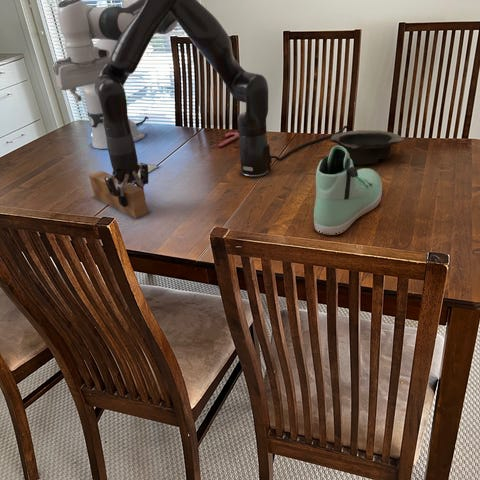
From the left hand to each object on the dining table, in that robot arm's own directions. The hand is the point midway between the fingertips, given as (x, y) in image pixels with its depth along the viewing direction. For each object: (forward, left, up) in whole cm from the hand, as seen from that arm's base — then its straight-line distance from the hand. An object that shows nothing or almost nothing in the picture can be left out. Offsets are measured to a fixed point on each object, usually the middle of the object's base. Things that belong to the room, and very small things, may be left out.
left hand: (91, 97), depth 163 cm
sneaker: (-27, +86, -27) cm, 94 cm away
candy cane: (-47, +15, -27) cm, 56 cm away
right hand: (+13, +36, -23) cm, 45 cm away
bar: (+13, +28, -27) cm, 41 cm away
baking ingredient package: (-5, +11, -27) cm, 29 cm away
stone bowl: (-64, +68, -27) cm, 97 cm away
